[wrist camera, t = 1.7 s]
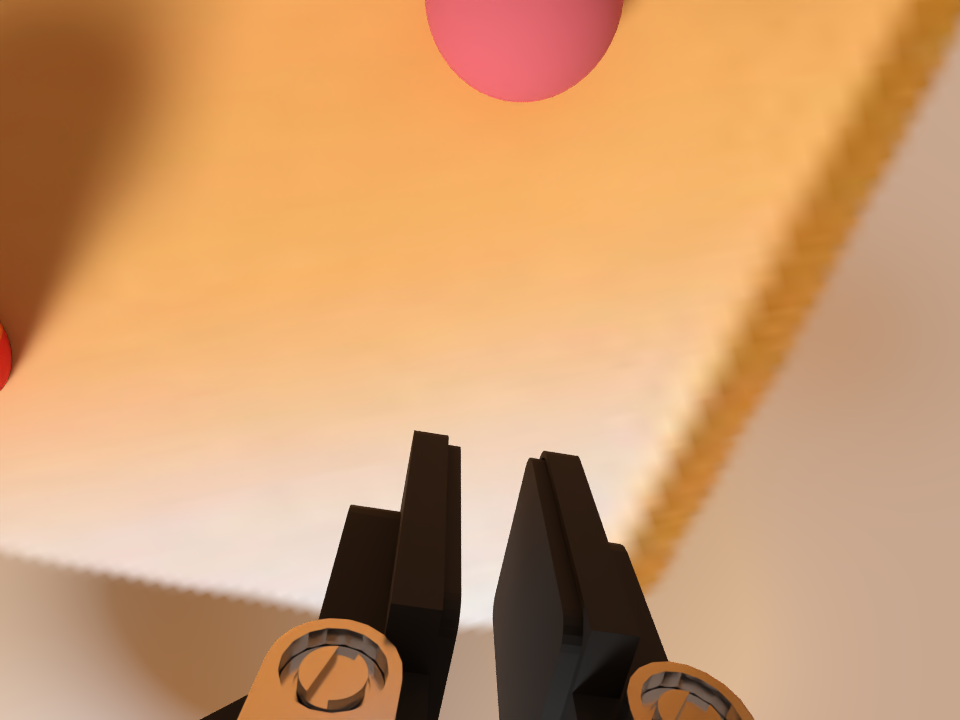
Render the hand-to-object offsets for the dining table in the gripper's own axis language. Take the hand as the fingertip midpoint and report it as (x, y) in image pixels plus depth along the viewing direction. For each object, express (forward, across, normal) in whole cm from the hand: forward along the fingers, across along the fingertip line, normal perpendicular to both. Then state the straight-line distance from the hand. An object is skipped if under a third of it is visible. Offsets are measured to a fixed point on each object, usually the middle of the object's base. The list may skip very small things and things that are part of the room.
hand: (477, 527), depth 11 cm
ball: (+14, 0, -10) cm, 17 cm away
